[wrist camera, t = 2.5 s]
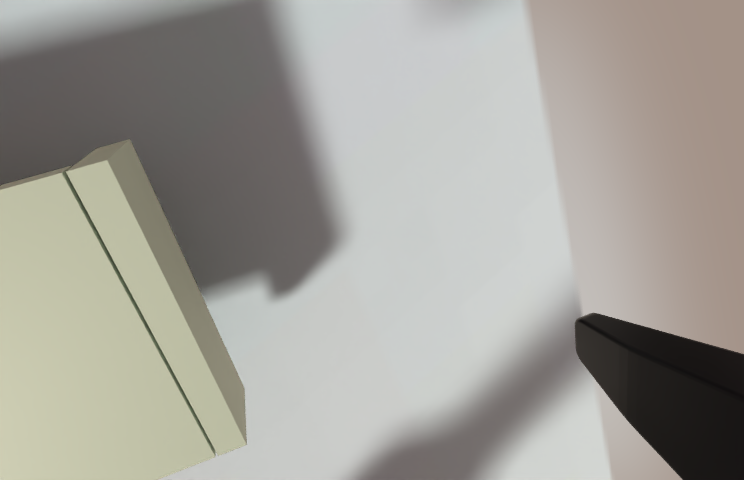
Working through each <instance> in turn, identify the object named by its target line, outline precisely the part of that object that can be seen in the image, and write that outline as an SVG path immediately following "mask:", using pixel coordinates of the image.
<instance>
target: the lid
mask: <svg viewBox="0 0 744 480" xmlns="http://www.w3.org/2000/svg"><path fill="white" fill-rule="evenodd" d="M245 445H247V439H246V415H245V391H244V386H243V384H242V382H241V380H240V378H239V376H238V373H237V371H236V369H235V367H234V365H233V362H232V360H231V358H230V356H229V354H228V352H227V349H226V347H225V345H224V343H223V341H222V338H221V336H220V334H219V332H218V330H217V328H216V325H215V323H214V321H213V319H212V317H211V315H210V312H209V310H208V308H207V306H206V304H205V301H204V299H203V297H202V295H201V293H200V291H199V288H198V286H197V284H196V282H195V280H194V277H193V275H192V273H191V271H190V269H189V267H188V264H187V262H186V260H185V258H184V256H183V254H182V251H181V249H180V247H179V245H178V243H177V240H176V238H175V236H174V234H173V232H172V230H171V227H170V225H169V223H168V221H167V219H166V216H165V214H164V212H163V210H162V208H161V206H160V203H159V201H158V199H157V197H156V195H155V193H154V190H153V188H152V186H151V184H150V182H149V179H148V177H147V175H146V173H145V171H144V169H143V166H142V164H141V162H140V160H139V158H138V155H137V153H136V151H135V149H134V147H133V145H132V142H131V140H130V139H128V140H125V141H121V142H117V143H114V144H110V145H107V146H103V147H99V148H96V149H95V150H94V151H92V152H91V153H90V154H88V155H87V156H86V157H84V158H83V159H82V160H80V161H79V162H78V163H76V164H75V165H74V166H68V167H64V168H61V169H57V170H53V171H50V172H46V173H43V174H39V175H35V176H32V177H28V178H25V179H21V180H17V181H14V182H10V183H7V184H3V185H0V480H157V479H160V478H163V477H165V476H168V475H170V474H173V473H175V472H178V471H181V470H183V469H186V468H188V467H191V466H193V465H196V464H199V463H201V462H204V461H206V460H209V459H211V458H214V457H215V453H217V454H218V456H219V455H222V454H224V453H227V452H229V451H232V450H234V449H237V448H240V447H242V446H245Z"/></svg>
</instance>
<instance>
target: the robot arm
mask: <svg viewBox="0 0 744 480" xmlns="http://www.w3.org/2000/svg"><path fill="white" fill-rule="evenodd" d="M575 342H576V352H577V355H578V357H579V359H580V360H581V362H582V363H583V364H584V365H585V367H586V368H587V369H588V371H589V372H590V373H591V375H592V376H593V377H594V378H595V380H596V381H597V382H598V384H599V385H600V386H601V387H602V389H603V390H604V391H605V393H606V394H607V395H608V397H609V398H610V399H611V400H612V402H613V403H614V404H615V406H616V407H617V408H618V409H619V411H620V412H621V413H622V414H623V416H624V417H625V418H626V419H627V420H628V422H629V423H630V424H631V425H632V426H633V427H634V428H635V429H636V430H637V431H638V432H639V434H640V435H641V436H642V437H643V438H644V439H645V440H646V441H647V442H648V443H649V444H650V445H651V446H652V447H653V448H654V450H656V452H657V453H658V454H659V455H660V456H661V457H662V458H663V459H664V460H665V461H666V462H667V463H668V464H669V466H670V467H671V468H672V469H673V470H674V471H675V472H676V473H677V474H678V475H679V476H680V477H681V478H682V479H683V480H744V354H741V353H738V352H734V351H731V350H727V349H723V348H720V347H716V346H713V345H709V344H705V343H702V342H698V341H694V340H691V339H687V338H684V337H680V336H676V335H673V334H669V333H666V332H662V331H659V330H655V329H651V328H648V327H644V326H641V325H637V324H633V323H629V322H626V321H622V320H619V319H615V318H612V317H608V316H605V315H601V314H597V313H591V314H588V315H586V316H583V317H580V318H578V319H577V320H576V322H575Z"/></svg>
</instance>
